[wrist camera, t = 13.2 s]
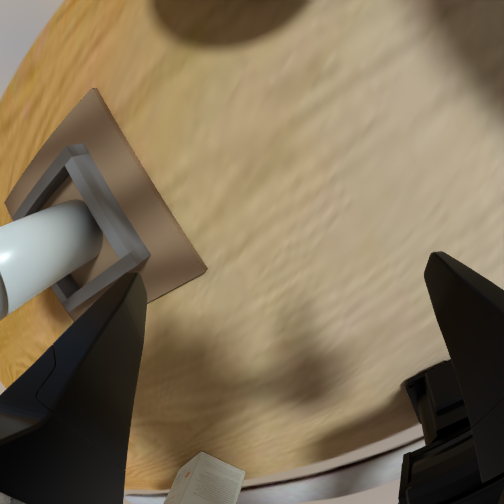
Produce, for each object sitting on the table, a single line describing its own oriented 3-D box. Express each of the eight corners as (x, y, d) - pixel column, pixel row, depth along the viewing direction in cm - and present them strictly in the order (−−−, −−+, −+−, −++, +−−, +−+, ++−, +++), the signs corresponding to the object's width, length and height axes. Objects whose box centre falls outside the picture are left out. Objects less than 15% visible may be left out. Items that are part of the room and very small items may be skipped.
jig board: (207, 268, 23) (194, 284, 20) (88, 333, 28) (73, 347, 26) (96, 88, 19) (74, 86, 17) (8, 201, 25) (-10, 208, 23)
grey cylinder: (108, 261, 24) (8, 333, 14) (65, 259, 25) (-28, 318, 15) (96, 196, 22) (-22, 245, 12) (53, 201, 23) (-52, 244, 13)
